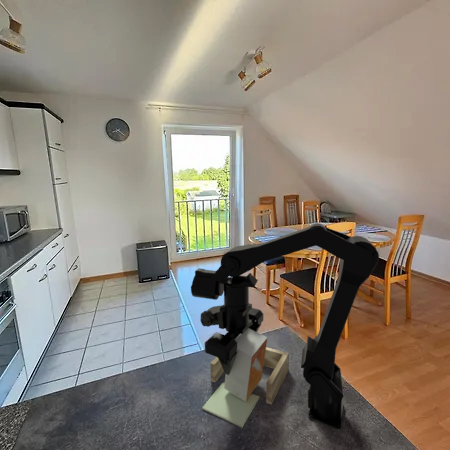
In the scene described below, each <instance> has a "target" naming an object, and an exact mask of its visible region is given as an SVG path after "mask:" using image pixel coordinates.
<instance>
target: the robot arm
mask: <svg viewBox="0 0 450 450" xmlns="http://www.w3.org/2000/svg"><path fill="white" fill-rule="evenodd" d="M312 247H318V248H321V249H322V250H324V251H326V252H328V253H330V254H331V255H333V256H335V257H336V258H338V259H339V268H338V269H339V271H338V277H337V279H336V280H337V281H336V283H335V285H334V289H333V290H332V291H333V292H332V295H331V298H330V300H329V303H328V305H327V308H326V310H325V311H326V312H325V314H324V317H323V319H322V322H321V325H320V328H319V331H318V334H317V335H316V336H315V337H314V338H312V337H310V336H307V339H306V345H305V347H304V348H302V354H301V361H300V363H301V364H300V368H301V369H303V371H302V377H303V378H304V379H305V382H306V383H308V385H309V387H308V390H307V408H308V409H309V410H308V414H307V415H308V416H307V417H308V418H310V419H311V420H314V421H316V422H319V423H321V424H324V425H328V426H330V427H333V428H335V429H337V430H341V429H342V425H343V419H344V412H345V406H344V391H345V390H344V388H345V387H344V385H343V379H342V378H343V377H342V372H341V371H342V370H341V367H340V366H338V364H337V363H336V352H337V348H338V344H339V342H340V339H341V336H342V334H343V331H344V328H345V326H346V323H347V320H348V318H349V315H350V312H351V310H352V307H353V305H354V302H355V300H356V296H357V294H358V291H359V289H360V287H361V286H363V284H364V283H365V282H366V281H367V280H368V279H369V278H370V276H371V274H373V271H374V270H375V268H376V266H377V265H378V263H379V259H380V255H379V252H378V250H377V248H376V247H375V245H374V244H372V242H371V241H370V240H368V239H367V238H366V237H364V236H361V235H360V236H359V235H354V236H350V235H347V234H345V233H343V232H341V231H337V230H334V229H332V228H329V227H327V226H325V225H323V224H322V223H313V224H311V225H310V226H307V227H305V228H301V229H299V230H296V231H294V232H290V233H288V234H284V235H281V236H279V237H276V238H273V239H270V240H267V241H264V242H261V243H253V244H252V243H251V244H250V243H249V244H244V245H238V246H234V247H232V248H231V249H229V250H228V251H227V252H225V253H223V255H222V257H221V260H220V266H219V267H218V268H217V269H216V270H212V269H211V270H210V269H209V270H208V269H205V268H196V270H195V271H194V277H193V279H192V283H191V285H190V292H191V295H192V296H193V297H194V298H198V299H199V298H200V299H207V300H208V299H209V300H214V301H216V300H218V299H219V297H222V296H223V304H221V305H216V306H211V307H210V308H208V309H207V310H204V311H202V312H201V313H200V319H199V320H200V323H201V325H202V326H203V327H210V326H218V328H219V329H220V330H224V329H225V330H226V331H227V332H226V333H225V334H222V333H219V332H214V333H213V334H212V335H211V336H210V337H209V338H208V339H207V340H206V341H205V342H204V353H206V354H208V355H211V356H214V357H215V358H216V357H218V359H219V361H220V363H221V365H222V368H223V370H224V374H227V375H229V374H230V372H231V369H232V367H233V364H234V361H235V358H236V355H237V351H236V350H237V342H236V341H235V340H236V339H237V338H238V337H239V336H240V335H241V334H243V333H244V332H245V331H246V330H247V329H248V328H249V329H251V330H253V331H255V332H257V333H259V332H258V331H259V330H260V327H261V326H262V323H263V321H264V313H263V312H262V310H261V309H258V308H254V307H253V303H250V301H249V300H250V299H249V293H250V291H249V288H255V286H256V285H257V283H258V282H259V281H258V279H257V277H255V276H253V274H252V273H251V272H250V273H248V274H247V275H244V274H246V273H247V272H249V271H251V270H252V269H255V267H257V266H260V265H261V264H262V263H265V262H268V261H272V260H274V259H275V260H276V259H278V258H280V257H284V256H288V255H290V254H291V255H292V254H293V253H296V252H299V251H303V250H306V249H309V248H312Z"/></svg>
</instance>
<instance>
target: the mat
mask: <svg viewBox="0 0 450 450" xmlns="http://www.w3.org/2000/svg"><path fill="white" fill-rule="evenodd" d="M224 384H225V382H222V383H221V384H220V385H219V387H218V388H216V390H215V391H214V393H213V394H212V395H211V396H210V398H209V399H208V400H207V401H206V402H205V404H204V405H203V406H202V407H201V408H202V410H203V411H204V412H205V411H206V412H207V413H210V414H212V415H213V416H216V417H218V418H221V419H223V420H225V421H226V422H230V423H232V424H233V425H235V426H238V427H240V428H243V427H244V426H245V424H246V422H247V420H248V419H249V417H250V415H251V414H252V412H253V410H254V408H255V406H256V405H257V403H258V401H259V400H260V396H259V395H256V394H253V393H252V394H251V395H250V397H249V398H248V400H247V402H245V401H243V400H242V399H240V398H238V397H237V396H235V395H234V394H232V393H231V392H229V391H228V390H226V389H225V388H224Z"/></svg>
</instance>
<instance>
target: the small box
mask: <svg viewBox="0 0 450 450" xmlns="http://www.w3.org/2000/svg"><path fill="white" fill-rule="evenodd" d="M235 341H236V342H237V350H236V351H237V355H236V358H235V361H234V364H233V367H232V369H231V372H230V374H229V375H227V374H225V373H224V374H225V377H224V383H225V384H224V388H225V389H226V390H228V391H229V392H231V393H232V394H234V395H235V396H237V397H238V398H240V399H242V400H243V401H245V402H247V400H248V398H249V397H250V395H251V394H253V392H254V390H255V389H256V388H257V386H258V385H259V384H260V382H261V380H262V379H263V378H262V377H263V371H264V366H263V364H264V358H265V351H266V347H267V344H268V337H267V336H265V335H264V334H261V333H259V332H255V331H253V330H251V329H249V328H248V329H247V330H246V331H245V332H244V333H243V334H241V335H240V336H239V337H238V338H237V339H236V340H235Z"/></svg>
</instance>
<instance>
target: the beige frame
mask: <svg viewBox="0 0 450 450" xmlns="http://www.w3.org/2000/svg"><path fill="white" fill-rule="evenodd" d="M289 355H290V353H289V352H286V351H281V350H278V349H274V348H271V347H268V346H266V351H265V358H264V364H263V367H265V368H266V367H267V368H270V369H272V370H273V371H272V373H271V374H270V376H269V378H268V379H267V381H266V385H265V386H266V396H265V397H266V404H269V405H271V406H272V405H273V403H274V400H275V399H276V397H277V394H278V393H279V390H281V389H280V388H281V386H282V385H283V382H284V381H285V379H286V377H287V375H288V373H289V372H290V371H289V366H290V365H289V364H290V362H289ZM209 367H210V381H211V382H213V383H217V381H218V380H219V379H220V377H221V376H222V375H223V374H225V372H224V370H223V368H222V365H221V363H220V361H219V359H218V357H216V356H215V358H214V359H212V361H211V362H210V366H209Z"/></svg>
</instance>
